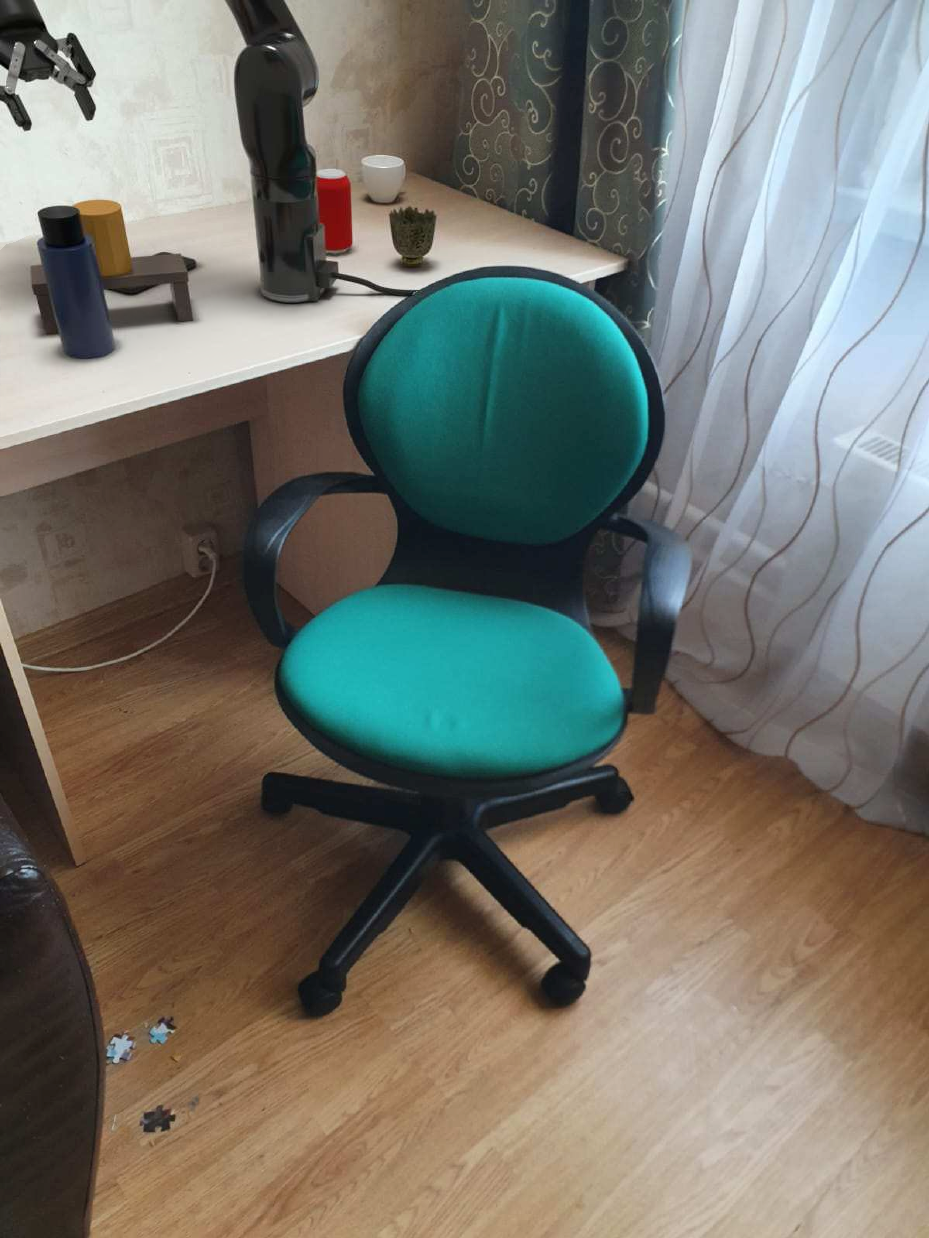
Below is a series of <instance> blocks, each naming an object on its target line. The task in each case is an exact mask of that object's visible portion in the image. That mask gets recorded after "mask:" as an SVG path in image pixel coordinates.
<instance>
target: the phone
mask: <svg viewBox="0 0 929 1238" xmlns="http://www.w3.org/2000/svg"><path fill="white" fill-rule="evenodd" d="M167 254H174V253H172V252H169V251H159V252H158V253H155V254H152V255H151V256H154V255H167ZM182 258H183V261H184V264H185V266H186V269H187V271H188V270H190V269H193V268H195V267H196V266H197V260H196V259H194V258H191V257H188V256H184V255H182ZM151 286H153V285H145V286H134V287H123V288H112V290H115V291H119V292H123V293H127V294H135V293H138V292H140V291H142V290H145V289H147V288H149V287H151Z"/></svg>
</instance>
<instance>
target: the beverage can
mask: <svg viewBox="0 0 929 1238" xmlns="http://www.w3.org/2000/svg"><path fill="white" fill-rule="evenodd" d="M317 184H318V203H319V221H320V223H323V224H324V230H325V248H326V254H329V255H330V254H331V255H340V254H342V253H345V252H346V251H347V250H349V249H350V248H351V247H352V245H353V240H354V239H353V238H354V237H353V217H352V216H353V215H352V185H351V180H350V178H349V177H348V175H347V173H346V172H345V171H344V170H342V169H337V168H323V169H319V170H317Z"/></svg>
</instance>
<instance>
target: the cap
mask: <svg viewBox="0 0 929 1238" xmlns="http://www.w3.org/2000/svg"><path fill="white" fill-rule="evenodd" d="M71 206H72V207H76V208H78V209H79V211H80V216H81V220H82V225H83V230H84V234H87V235H90V236H91V237H92V238H93V240H94V245H95V250H96V255H97V259H98V264H99V269H100V274H101V277H110V276H118V275H121V274H124V273H127V272H129V271H130V270H131V269H132V268H133V267H132V262H131V251H130V246H129V242H128V241H129V240H128V236H127V230H126V224H125V220H124V213H123V210H122V204H120V203H119V202H117V201H115V200H110V199H89V200H88V199H87V200H83V201H80V202H77V203H74V204H72V205H71Z"/></svg>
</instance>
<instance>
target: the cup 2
mask: <svg viewBox="0 0 929 1238" xmlns="http://www.w3.org/2000/svg"><path fill="white" fill-rule="evenodd" d="M388 217H389V225H390V233H391V234H390V235H391V239H392V240H391V241H392V244H393V248H394V250H395V251H396V252H397V254H398V255H400V256H401V258H400V261H401V263H402V265H403V266H405V267H408V268H418V267H421V266H422V265H423V264H424V261H425V256H426V255H427V254H429V252H430V251H431V250H432V246H433V244H434V238H435V231H436V222H437V214H436V213H435V211H434V210H429V209H428V208H425V210H424V212H419V210H418V207H416V206H415V207H414V208H413V207H412V206H410V205H408V206H406V207H405V209H404V210H403V208H402V207H399V209H398V211H397V210H396V209H395V208H394V209H393V211H392V210H390V212H389V213H388Z"/></svg>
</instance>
